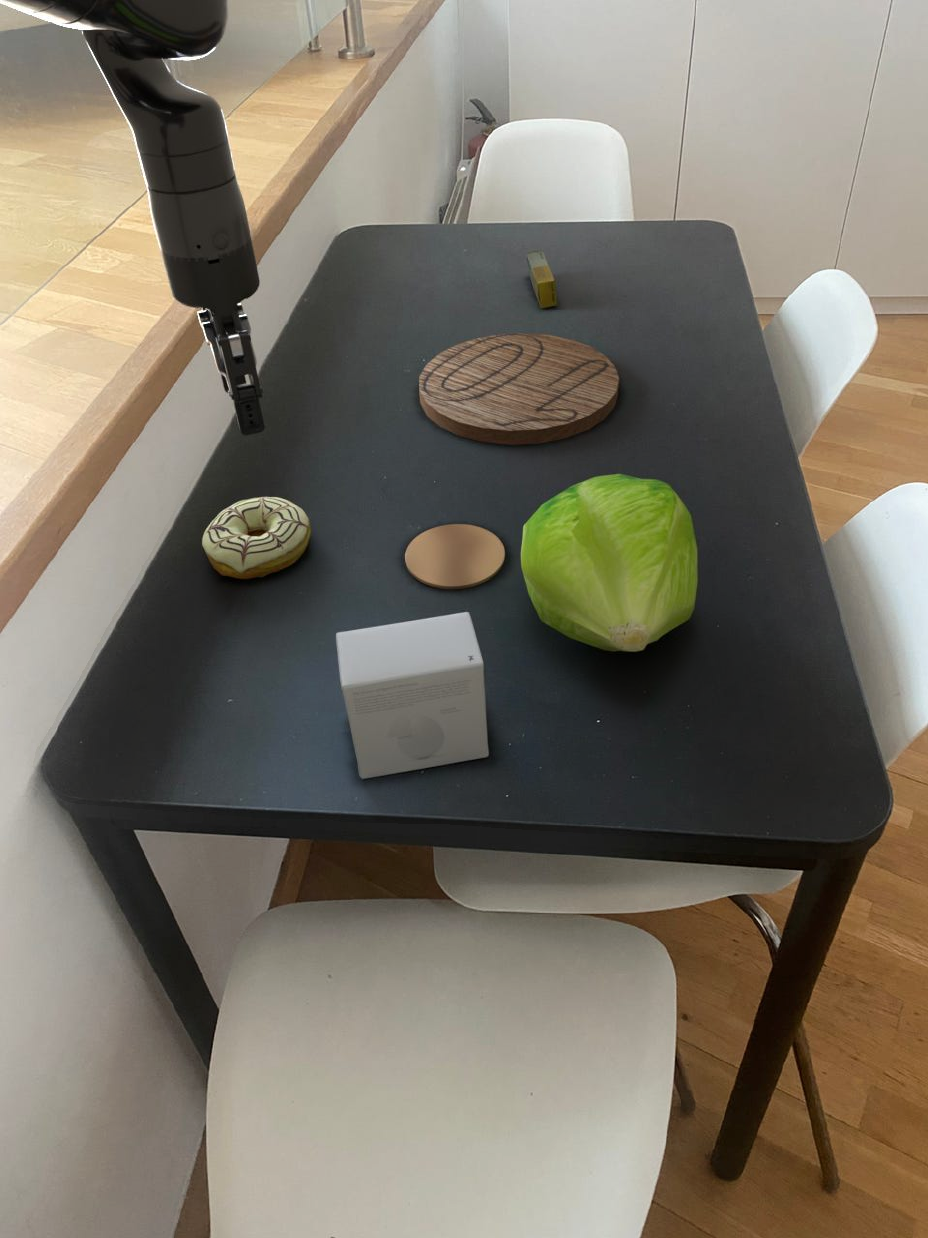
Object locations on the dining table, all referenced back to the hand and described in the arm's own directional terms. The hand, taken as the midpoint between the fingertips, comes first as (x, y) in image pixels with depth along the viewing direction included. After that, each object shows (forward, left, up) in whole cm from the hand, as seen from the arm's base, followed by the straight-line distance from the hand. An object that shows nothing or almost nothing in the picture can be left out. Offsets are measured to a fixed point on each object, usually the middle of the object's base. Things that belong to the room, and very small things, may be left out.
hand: (244, 410), depth 87 cm
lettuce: (+25, -27, -14) cm, 40 cm away
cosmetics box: (+5, -33, -14) cm, 36 cm away
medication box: (+50, +42, -14) cm, 67 cm away
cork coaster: (+16, -12, -14) cm, 25 cm away
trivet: (+35, +16, -14) cm, 41 cm away
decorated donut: (-2, -3, -14) cm, 15 cm away
